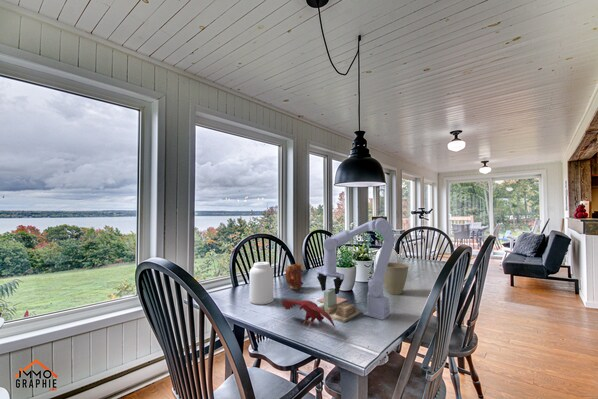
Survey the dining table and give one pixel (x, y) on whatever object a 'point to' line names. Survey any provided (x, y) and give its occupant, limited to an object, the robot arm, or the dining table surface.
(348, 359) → the dining table surface
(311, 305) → the red animal figurine
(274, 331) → the dining table surface
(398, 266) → the plant pot
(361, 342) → the dining table surface
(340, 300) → the mat
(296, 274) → the orange-brown rough oval lump
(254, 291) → the white jar
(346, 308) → the offcut pile
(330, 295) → the pale green block
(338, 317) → the wooden blocks on board
